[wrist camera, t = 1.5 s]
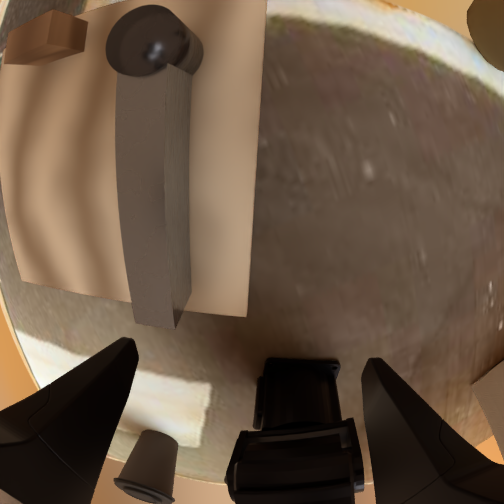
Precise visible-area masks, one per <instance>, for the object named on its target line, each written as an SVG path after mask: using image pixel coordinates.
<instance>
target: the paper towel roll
mask: <svg viewBox="0 0 504 504" xmlns="http://www.w3.org/2000/svg"><path fill="white" fill-rule="evenodd" d="M472 389H473V391H474V393H475V395H476V397H477V399H478V401H479V403H480V405H481V407H482V409H483V412H484V414H485V416H486V418H487V420H488V423H489V425H490V427H491V429H492V432H493V434H494V436H495V439H496V441H497V444H498V446H499V449H500V451H501V454H502V457H503V459H504V360H503V361H502V362H501V363H499V364H498V365H497V366H495V367H494V368H493V369H492V370H490V371H489V372H488V373H487V374H486V375H485V376H484V377H483V378H482V379H481V380H480V381H479V382H478V383H476V384H475V385H473V386H472Z"/></svg>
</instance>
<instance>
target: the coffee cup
mask: <svg viewBox="0 0 504 504" xmlns="http://www.w3.org/2000/svg"><path fill="white" fill-rule="evenodd" d="M177 451H178V443H177V442H176V440H174V439H173V438H172V437H170V436H168V435H166V434H163V433H161V432H157V431H152V430H145V431H143V432H142V433H141V435H140V437H139V439H138V441H137V443H136V445H135V447H134V448H133V450H132V452H131V454H130V456H129V458H128V460H127V462H126V464H125V465H124V467H123V469H122V471H121V473H120V475H119V477H118V478H114V482H115V485H116V486H117V487H118V488H120V489H121V490H123V491H124V492H125V493H127V494H128V495H130V496H132V497H134V498H137V499H139V500H142V501H145V502H149V503H153V504H172V502H174V501H175V499H174V498H173V497H172V493H173V484H174V475H175V467H176V458H177Z"/></svg>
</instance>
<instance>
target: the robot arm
mask: <svg viewBox="0 0 504 504" xmlns="http://www.w3.org/2000/svg"><path fill="white" fill-rule="evenodd" d="M138 361H139V355H138V351H137V348H136V344H135V341H134V339H132V338H127V337H122V338H120V339H118V340H117V341H115V342H114V343H112V344H111V345H109V346H108V347H106V348H104V349H103V350H101V351H100V352H98V353H97V354H95V355H94V356H92V357H90V358H89V359H87V360H86V361H84V362H83V363H81V364H80V365H78V366H77V367H75V368H73V369H72V370H70V371H69V372H67V373H66V374H64V375H63V376H61V377H59V378H58V379H56V380H55V381H53V382H52V383H51V384H48V385H47V386H45V387H44V388H42V389H41V390H39V391H37V392H36V393H34V394H32V395H31V396H29V397H27V398H25V399H23V400H21V401H19V402H17V403H15V404H13V405H11V406H9V407H7V408H5V409H3V410H2V411H0V504H91V500H92V497H93V494H94V489H95V487H96V484H97V481H98V478H99V475H100V472H101V469H102V466H103V464H104V461H105V458H106V455H107V452H108V450H109V447H110V444H111V441H112V439H113V436H114V433H115V431H116V428H117V425H118V423H119V420H120V418H121V415H122V412H123V410H124V407H125V405H126V402H127V399H128V397H129V393H130V390H131V386H132V383H133V379H134V375H135V372H136V368H137V365H138ZM270 363H272V364H270ZM334 366H335V367H334ZM339 371H340V363H339V362H338V361H318V360H295V359H278V358H268V359H266V361H265V366H264V374H263V377H262V376H260V377H259V378H258V380H257V388H256V398H255V409H254V420H253V428H254V429H256V430H260V431H248V430H245V431H240V434H239V437H238V439H237V441H236V444H235V447H234V450H233V453H232V456H231V459H230V462H229V465H228V468H227V471H226V476H225V479H224V481H225V483H226V484H227V485H228V491H229V495H230V497H231V499H232V501H234V502H235V503H236V504H355V498H354V497H355V496H354V493H358V492H363V491H364V468H363V460H362V454H361V449H360V445H359V440H358V436H357V431H356V427H355V423H354V419H353V418H348V419H346V420H343V421H342V417H341V410H340V404H339V397H338V391H337V385H336V378H337V376H338V373H339ZM361 382H362V395H363V411H364V421H365V427H366V433H367V439H368V445H369V452H370V458H371V465H372V473H373V480H374V489H375V497H376V504H504V465H502V464H498V463H495V462H493V461H491V460H490V459H488V458H487V457H486V456H484V455H483V454H482V453H481V452H479V451H478V450H477V449H476V448H474V447H473V446H472V445H471V444H469V443H468V442H467V441H466V440H465V439H464V438H462V437H461V436H460V435H459V434H458V433H457V432H456V431H455V430H454V429H452V428H451V427H450V426H449V425H448V424H447V423H446V422H445V421H444V420H443V419H442V418H441V417H440V416H439V415H438V414H437V413H436V412H435V411H434V410H433V409H432V408H431V407H430V406H429V405H428V404H427V403H426V402H425V401H424V400H423V399H422V398H421V397H420V396H419V395H418V394H417V393H416V392H415V391H414V390H413V389H412V388H411V387H410V386H409V385H408V384H407V383H406V382H405V381H404V380H403V379H402V378H401V377H400V376H399V375H398V374H397V373H396V372H395V371H394V370H393V369H392V368H391V367H390V366H389V365H388V364H387V363H386V362H385V361H384V360H383V359H381V358H379V357H378V358H369V359H368V361H367V363H366V366H365V368H364V370H363V373H362V377H361Z"/></svg>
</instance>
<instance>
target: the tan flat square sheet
mask: <svg viewBox="0 0 504 504" xmlns="http://www.w3.org/2000/svg"><path fill="white" fill-rule="evenodd" d="M153 4H154V5H160V6H164V7H166V8H168V9H169V10H171V11H172V12H173V13H174V14H175V15H176V16H177V17H178V18H179V19H180V20H181V21H182V22H183V23H184V24H185V25H186V26H187V27H188V28H189V29H190V30H191V31H192V32H193V33H194V34H195V35H196V36H197V37H198V38H199V39H200V41H201V43H202V45H203V50H204V55H203V60H202V63H201V65H200V67H199V68H198V70H197V71H196V72H195V74H194V75H193V76H192V90H191V110H190V139H189V235H190V265H191V286H192V293H191V295H190V297H189V300H188V302H187V304H186V306H185V308H184V310H186V311H194V312H202V313H211V314H220V315H229V316H239V317H246V316H247V310H248V294H249V278H250V262H251V246H252V230H253V214H254V198H255V182H256V166H257V151H258V135H259V119H260V103H261V88H262V72H263V56H264V41H265V25H266V10H267V0H126V1H122V2H118V3H114V4H111V5H107V6H104V7H101V8H97V9H94V10H91V11H88V12H85V13H82V14H80V15H77V16H74V17H77V18H80V19H82V20H85V21H88V28H87V34H86V41H85V49H84V52H81V53H78V54H75V55H71V56H68V57H65V58H62V59H59V60H56V61H53V62H51V63H48V64H45V65H42V66H32V65H13V64H4V58H5V51H6V49H4V50H3V56H2V63H1V71H0V177H1V185H2V193H3V200H4V206H5V212H6V218H7V223H8V228H9V233H10V237H11V242H12V246H13V250H14V254H15V258H16V261H17V265H18V269H19V272H20V275H21V279H22V281H25V282H30V283H34V284H38V285H43V286H47V287H52V288H56V289H61V290H66V291H71V292H76V293H81V294H86V295H91V296H96V297H102V298H107V299H113V300H119V301H125V302H131V297H130V292H129V286H128V280H127V274H126V267H125V261H124V254H123V246H122V238H121V229H120V220H119V209H118V196H117V181H116V159H115V105H116V83H117V71H115V70H114V69H113V68H112V67H111V66H110V64H109V63H108V60H107V58H106V51H105V48H106V41H107V38H108V35H109V33H110V31H111V29H112V27H113V26H114V25H115V23H116V22H117V21H118V20H119V19H120V18H121V17H122V16H123V15H125V14H126V13H127V12H129V11H131V10H133V9H135V8H137V7H140V6H144V5H153Z"/></svg>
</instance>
